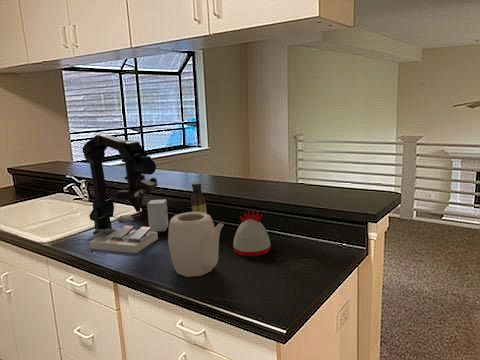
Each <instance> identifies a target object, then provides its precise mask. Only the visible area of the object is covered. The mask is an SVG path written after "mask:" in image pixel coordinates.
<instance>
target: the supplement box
mask: <svg viewBox="0 0 480 360" xmlns="http://www.w3.org/2000/svg"><path fill="white" fill-rule="evenodd" d="M167 201H168V200H167V199H166V198H165V199H152V200H151V199H150V200H149V202H147V204H146V207H147V219H148V220H147V221H148V227H151V230H150V231H151V232H166V230H167V228H169V216H168V214H169V213H168V204H167Z"/></svg>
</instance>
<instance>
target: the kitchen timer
mask: <svg viewBox="0 0 480 360" xmlns="http://www.w3.org/2000/svg"><path fill="white" fill-rule="evenodd" d="M250 213H251V214H250ZM243 216H244V218H243ZM243 216H241V215H240V216H239V218H240V220H241V223H240V225H239V226H238V228H237V229H236V232H235V235H234V238H233V243H232V245H233V248H232V249H233V252H234V253H235V254H237V255H240V256H243V257H257V256H263V255H265V254H267V253H269V252H270V251H271V249H272V248H271V247H272V246H271V240H270V237H269V234H268V230H267V229H266V228H265V227H264V225H263V224H262V223H261V222H260V220H261V219H262V216H263V214H262V213H261V214H260V216H259V210H257V211H256V214H255V213H254V210H251V212H250V210H247V214H246V213H245V212H244V213H243Z"/></svg>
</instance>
